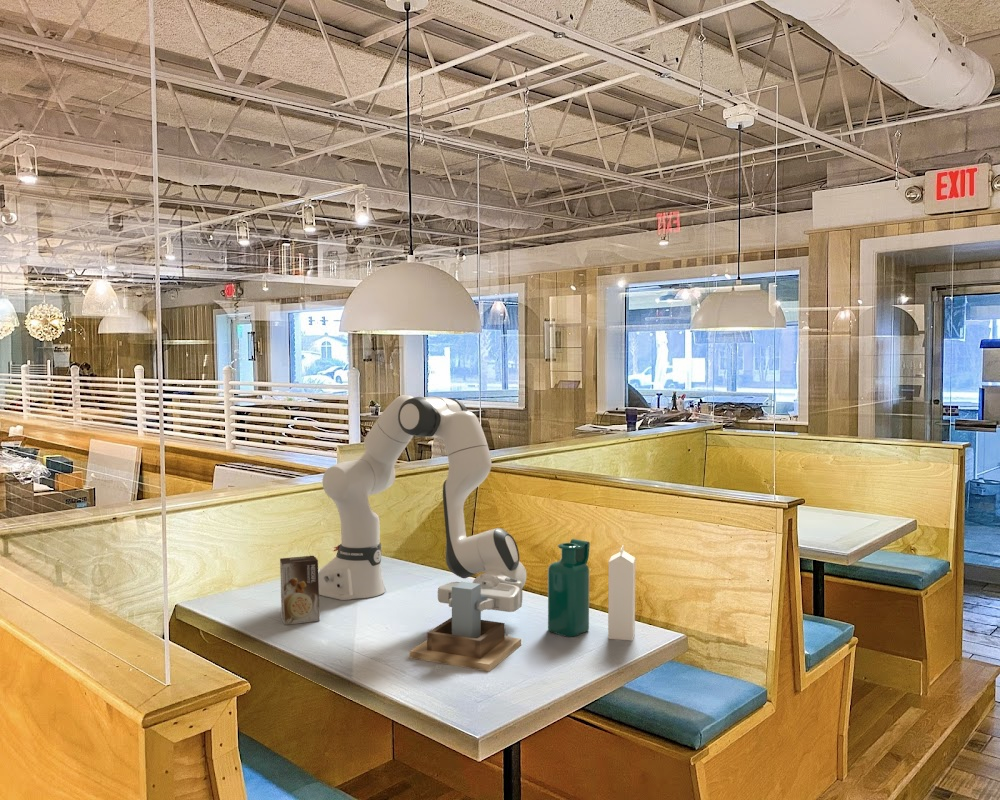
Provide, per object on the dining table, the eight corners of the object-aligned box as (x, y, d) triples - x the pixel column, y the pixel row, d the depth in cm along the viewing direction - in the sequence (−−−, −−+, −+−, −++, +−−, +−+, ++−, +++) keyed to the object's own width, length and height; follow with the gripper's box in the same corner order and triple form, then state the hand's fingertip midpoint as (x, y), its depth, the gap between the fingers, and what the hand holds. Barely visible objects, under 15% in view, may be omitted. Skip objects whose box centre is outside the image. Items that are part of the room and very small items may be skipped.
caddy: (409, 657, 183) (409, 633, 182) (446, 633, 199) (446, 611, 199) (489, 671, 175) (489, 646, 174) (521, 644, 191) (521, 622, 191)
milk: (608, 639, 195) (607, 549, 194) (610, 631, 201) (610, 543, 200) (633, 641, 194) (633, 550, 193) (635, 632, 200) (635, 544, 199)
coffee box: (316, 614, 215) (315, 554, 214) (320, 621, 209) (319, 560, 208) (280, 618, 211) (279, 557, 211) (283, 625, 205) (282, 563, 205)
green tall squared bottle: (571, 638, 195) (571, 548, 194) (544, 630, 201) (544, 543, 200) (595, 628, 202) (595, 542, 202) (568, 621, 208) (568, 537, 207)
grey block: (451, 646, 185) (451, 586, 185) (461, 640, 190) (461, 581, 189) (471, 650, 183) (471, 589, 183) (480, 643, 188) (480, 583, 187)
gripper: (452, 573, 202) (425, 587, 190) (527, 582, 194) (504, 597, 181) (452, 597, 203) (425, 613, 190) (527, 607, 194) (504, 624, 182)
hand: (464, 605), depth 186 cm, fingers open, 5 cm apart
